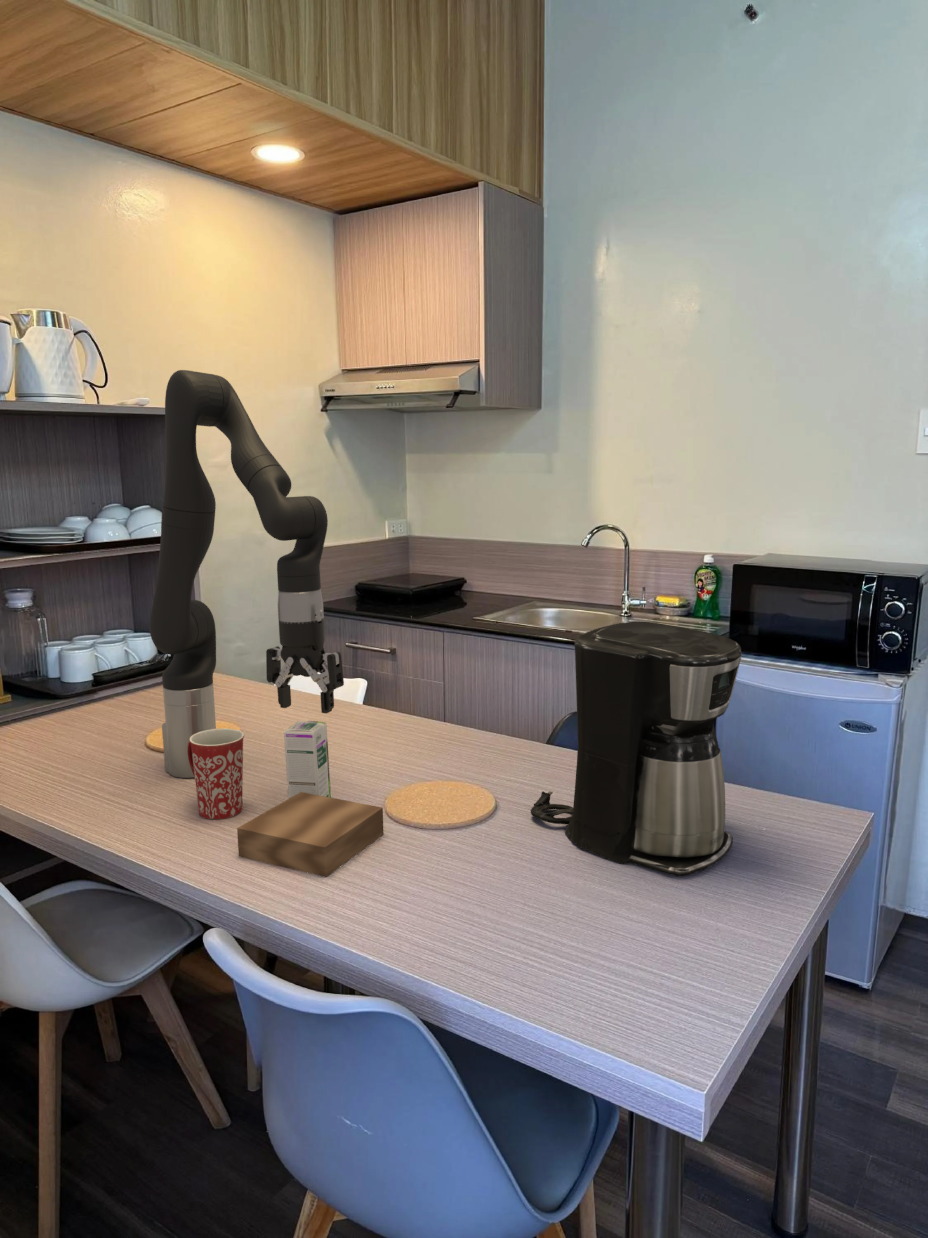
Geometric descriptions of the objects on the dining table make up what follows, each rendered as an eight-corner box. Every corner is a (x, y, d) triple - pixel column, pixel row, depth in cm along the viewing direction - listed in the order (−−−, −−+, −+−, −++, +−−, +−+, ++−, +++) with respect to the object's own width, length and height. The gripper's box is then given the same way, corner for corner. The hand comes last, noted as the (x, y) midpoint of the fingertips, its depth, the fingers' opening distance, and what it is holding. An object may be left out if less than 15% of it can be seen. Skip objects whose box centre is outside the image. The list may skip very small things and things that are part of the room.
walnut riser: (238, 859, 132) (237, 828, 131) (302, 820, 146) (300, 792, 145) (326, 880, 125) (324, 847, 124) (383, 837, 139) (382, 807, 138)
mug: (259, 810, 149) (255, 735, 147) (212, 826, 143) (207, 748, 140) (218, 792, 157) (214, 720, 155) (173, 807, 151) (167, 732, 148)
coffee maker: (731, 887, 121) (743, 651, 115) (507, 858, 130) (506, 639, 124) (733, 823, 142) (742, 621, 136) (540, 802, 152) (541, 612, 146)
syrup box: (319, 812, 148) (316, 731, 145) (287, 810, 149) (283, 729, 146) (331, 800, 153) (328, 721, 151) (300, 797, 154) (296, 719, 152)
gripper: (252, 617, 145) (258, 711, 148) (323, 622, 139) (328, 720, 142) (280, 610, 152) (285, 700, 154) (349, 615, 145) (353, 708, 148)
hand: (306, 709), depth 148 cm, fingers open, 8 cm apart
